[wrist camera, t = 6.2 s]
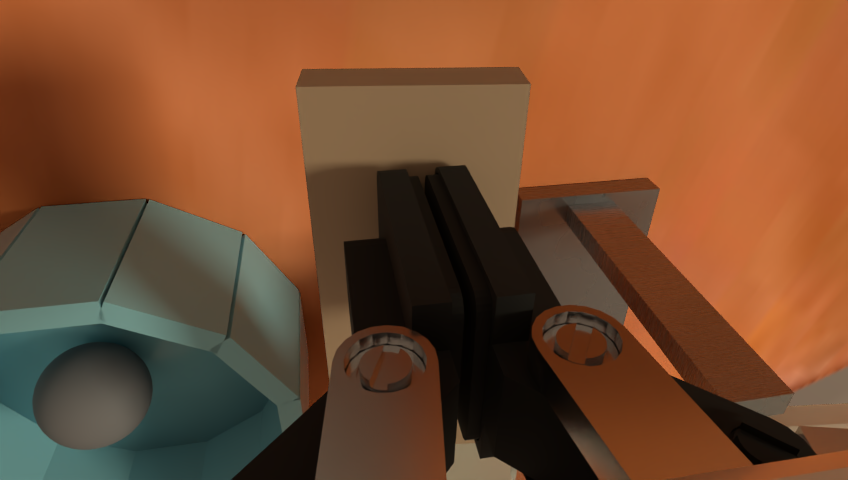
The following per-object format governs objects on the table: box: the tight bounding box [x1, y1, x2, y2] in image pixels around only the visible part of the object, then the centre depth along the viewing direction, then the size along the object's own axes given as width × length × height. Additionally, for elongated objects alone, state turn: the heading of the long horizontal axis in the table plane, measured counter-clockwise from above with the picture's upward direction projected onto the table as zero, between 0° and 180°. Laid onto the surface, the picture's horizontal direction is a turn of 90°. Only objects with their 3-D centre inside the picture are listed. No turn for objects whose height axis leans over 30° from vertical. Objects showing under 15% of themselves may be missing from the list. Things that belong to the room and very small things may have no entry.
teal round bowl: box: [0, 199, 309, 480], centre depth 22 cm, size 14×14×6 cm
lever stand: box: [514, 178, 794, 416], centre depth 23 cm, size 6×12×12 cm, turn 0°
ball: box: [32, 342, 153, 450], centre depth 22 cm, size 4×4×4 cm
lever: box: [296, 67, 848, 480], centre depth 16 cm, size 22×18×3 cm
